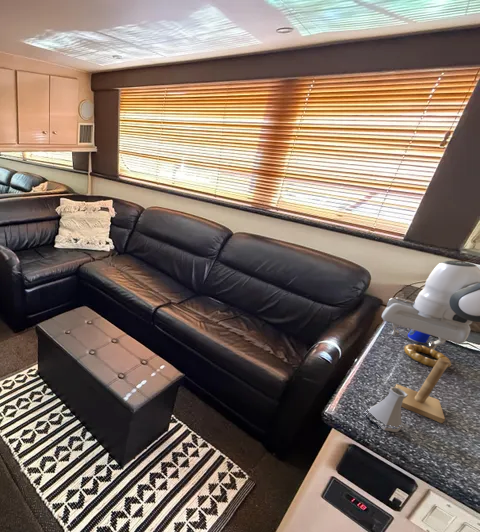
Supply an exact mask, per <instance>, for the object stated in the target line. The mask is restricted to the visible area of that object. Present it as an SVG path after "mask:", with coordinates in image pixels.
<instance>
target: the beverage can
mask: <svg viewBox="0 0 480 532" xmlns="http://www.w3.org/2000/svg"><path fill="white" fill-rule="evenodd" d="M430 337H431V335H429V334H426V333H422V332H419V331H416V330H413V329H410V330H409V332H408V333H407V338H408V339H409V340H410V341H412V342H414V343H417V344H426V343H427V342H428V341H429V338H430Z"/></svg>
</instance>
